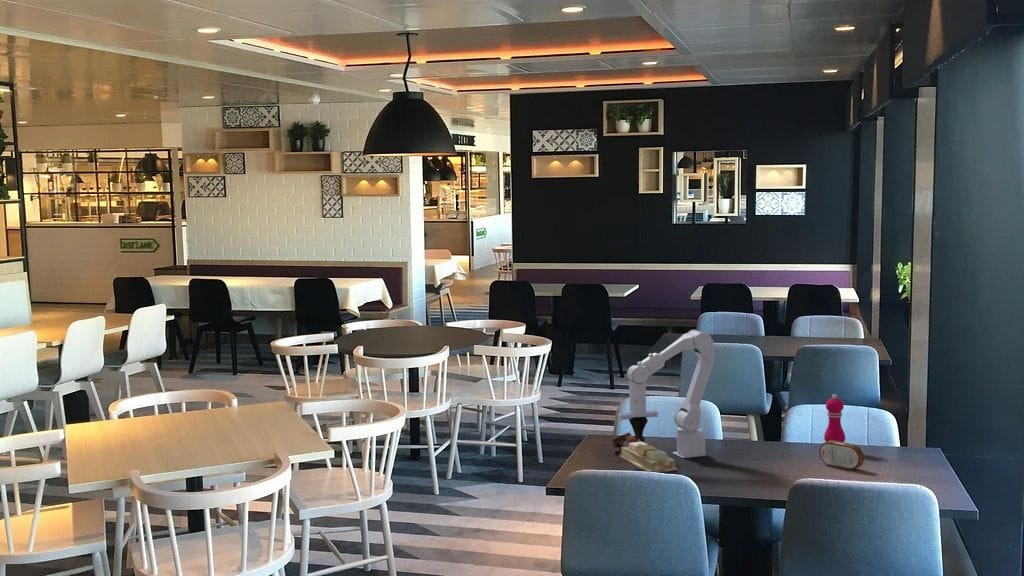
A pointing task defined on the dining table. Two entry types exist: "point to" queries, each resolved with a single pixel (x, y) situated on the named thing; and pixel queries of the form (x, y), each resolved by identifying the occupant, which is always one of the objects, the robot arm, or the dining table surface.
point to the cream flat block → (645, 450)
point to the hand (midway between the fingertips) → (638, 438)
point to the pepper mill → (834, 420)
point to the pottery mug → (630, 439)
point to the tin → (841, 455)
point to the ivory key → (636, 445)
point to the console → (647, 461)
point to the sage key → (656, 455)
